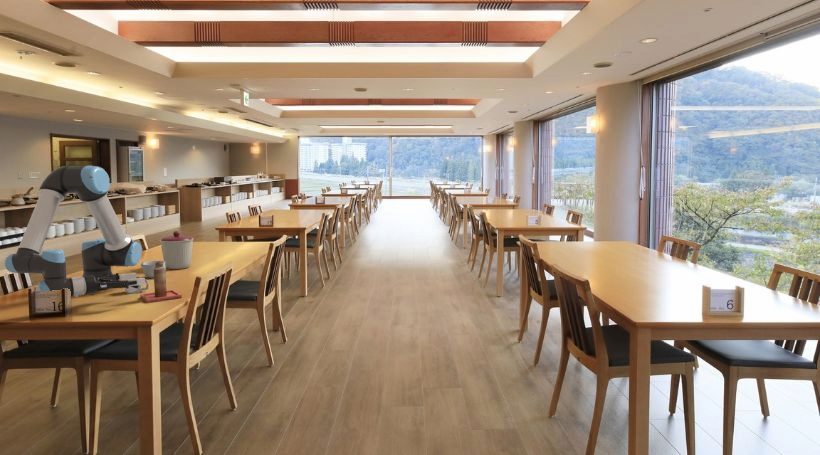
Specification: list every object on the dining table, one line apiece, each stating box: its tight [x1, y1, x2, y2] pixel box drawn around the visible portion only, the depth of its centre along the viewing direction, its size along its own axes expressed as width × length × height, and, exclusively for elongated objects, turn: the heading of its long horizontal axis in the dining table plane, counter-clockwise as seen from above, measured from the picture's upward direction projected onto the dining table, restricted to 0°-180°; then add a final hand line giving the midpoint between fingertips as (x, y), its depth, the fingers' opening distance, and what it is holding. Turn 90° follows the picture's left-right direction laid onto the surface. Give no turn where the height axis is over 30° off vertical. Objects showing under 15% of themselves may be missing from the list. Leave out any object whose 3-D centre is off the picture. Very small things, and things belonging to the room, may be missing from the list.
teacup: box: [140, 259, 167, 279], centre depth 289 cm, size 14×11×8 cm
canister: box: [158, 230, 195, 270], centre depth 312 cm, size 18×18×21 cm
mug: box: [124, 276, 150, 295], centre depth 255 cm, size 10×7×7 cm, turn 101°
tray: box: [139, 289, 183, 304], centre depth 244 cm, size 12×14×2 cm
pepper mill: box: [153, 260, 168, 297], centre depth 244 cm, size 5×5×16 cm
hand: (140, 278), depth 238 cm, fingers open, 13 cm apart
